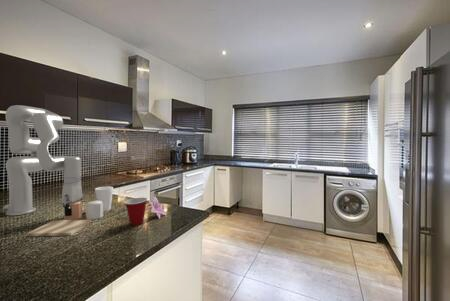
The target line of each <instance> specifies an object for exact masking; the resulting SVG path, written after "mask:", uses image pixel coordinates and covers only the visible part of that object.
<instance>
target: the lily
mask: <svg viewBox="0 0 450 301" xmlns="http://www.w3.org/2000/svg"><path fill="white" fill-rule="evenodd" d="M148 202H149V204H150V205H151V207H152V208H151V212H150V214H149V216H151V215H152V213H156V215H157V217H158V218H159V219H161V214H163V215H165V216H166V215H167V213H166V211H165V209H164V208H163V204H162V203H160V201H159V200H158V198H157V197H156V196H154V199H153V201H150V200H148Z"/></svg>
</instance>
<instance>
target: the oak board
mask: <svg viewBox="0 0 450 301" xmlns="http://www.w3.org/2000/svg"><path fill="white" fill-rule="evenodd" d="M90 223H92V220H88V219H74V220H65V219H53V220H51V221H49V222H47V223H45V224H43V225H41V226H38V227H37V228H35V229H33V230H31V231H29V232H26V236H27V237H53V236H54V237H56V236H67V237H68V236H73V235H74V234H76V233H77V232H79V231H80V230H82V229H84V228H85V227H86V226H88V225H89V224H90Z"/></svg>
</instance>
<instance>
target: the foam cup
mask: <svg viewBox="0 0 450 301" xmlns="http://www.w3.org/2000/svg"><path fill="white" fill-rule="evenodd" d="M113 192H114V187H113V186H99V187H95V188H94V193H95V198H96V200H95V201H102V203H103V212H107V211H109V210H110V211H111V207H112V200H113Z"/></svg>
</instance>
